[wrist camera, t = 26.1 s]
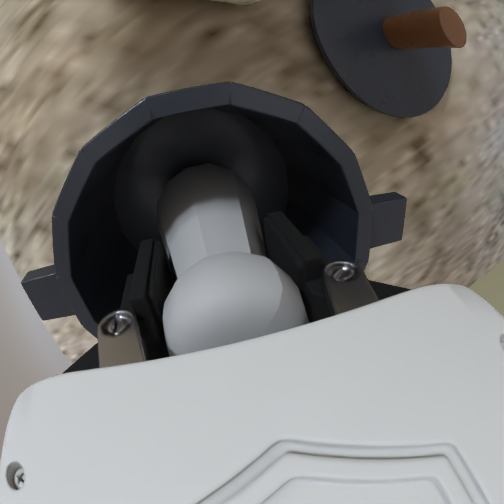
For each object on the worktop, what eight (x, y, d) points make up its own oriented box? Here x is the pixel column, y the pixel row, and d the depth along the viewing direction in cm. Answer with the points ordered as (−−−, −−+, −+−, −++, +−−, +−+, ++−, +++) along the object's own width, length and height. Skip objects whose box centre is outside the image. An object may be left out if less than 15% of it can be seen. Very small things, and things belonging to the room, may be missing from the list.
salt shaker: (257, 220, 20) (349, 367, 9) (182, 252, 20) (199, 425, 9) (228, 143, 17) (326, 223, 6) (144, 179, 17) (89, 323, 6)
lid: (292, -52, 11) (337, -94, 4) (430, -12, 13) (485, -19, 7) (317, 116, 18) (379, 127, 12) (446, 120, 20) (504, 137, 14)
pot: (52, 139, 14) (-33, 174, 6) (323, 85, 17) (420, 85, 9) (109, 300, 21) (90, 396, 13) (328, 251, 24) (391, 323, 16)
